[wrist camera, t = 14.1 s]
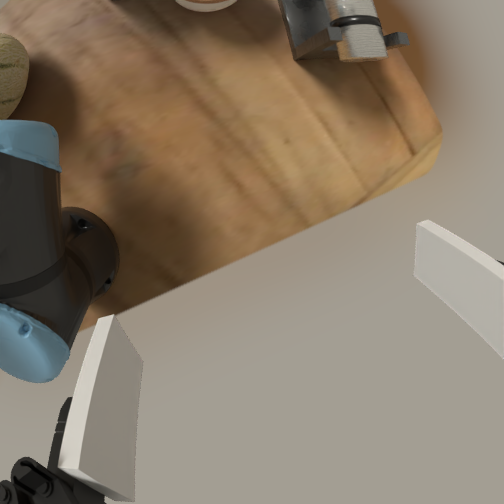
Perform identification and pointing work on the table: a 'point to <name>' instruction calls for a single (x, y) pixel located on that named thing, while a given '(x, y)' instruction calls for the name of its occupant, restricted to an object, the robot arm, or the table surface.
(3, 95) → the cantaloupe
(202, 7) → the lidded jar
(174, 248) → the table surface
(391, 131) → the table surface
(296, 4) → the collar stand
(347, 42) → the steel tube
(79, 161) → the table surface
